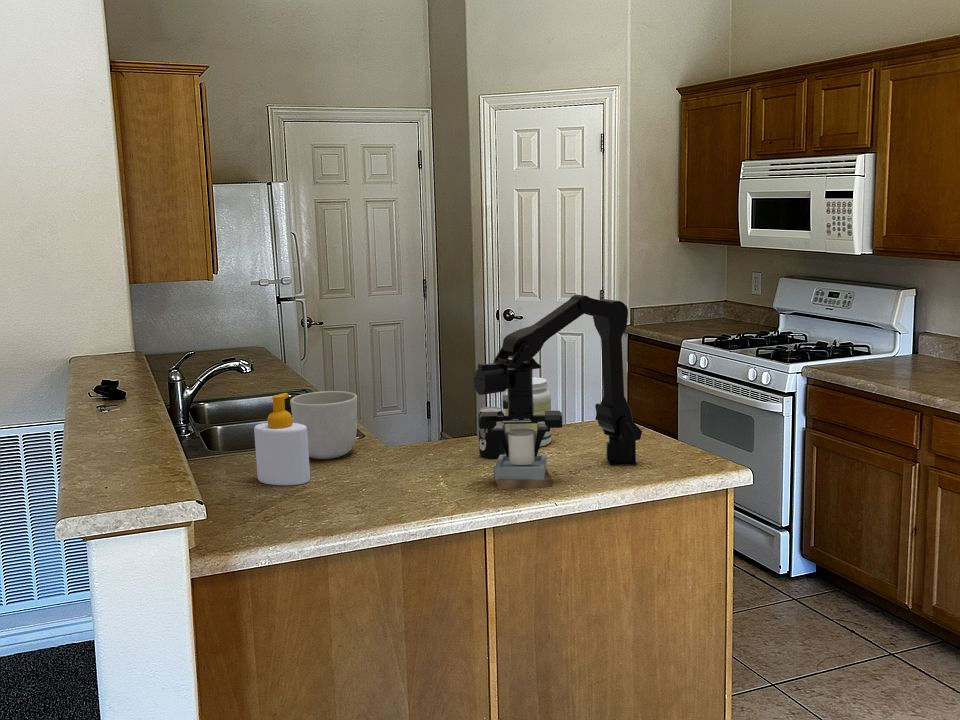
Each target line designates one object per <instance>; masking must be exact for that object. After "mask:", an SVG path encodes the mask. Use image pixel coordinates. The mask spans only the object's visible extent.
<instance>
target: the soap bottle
mask: <svg viewBox="0 0 960 720" xmlns="http://www.w3.org/2000/svg"><path fill="white" fill-rule="evenodd" d="M288 397H289V393H288V392H284V393H280V394H276V395H273V396H272V410H273V411H272V412H270V413H269V414H268V416H267V422H264V423H263V422H262V423H259V424H256V425H255V426H254V428H253V430H254V431H253V433H254V434H253V436H254V446H255V447H254V448H255V461H256V462H255V463H256V473H257V474H256V475H257V480H258V481H259V482H260V483H263V484H266V485H270V486H271V485H273V486H298V485H305V484H306V483H309V482H310V480H311V471H310V469H311V468H310V467H311V466H310V457H309V451H308V436H307V427H306V426H305V425H303V424H298V423H293V418H292V413H291V412H289V411H287V410H286V407H285V399H288Z"/></svg>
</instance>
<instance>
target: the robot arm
mask: <svg viewBox="0 0 960 720" xmlns="http://www.w3.org/2000/svg"><path fill="white" fill-rule="evenodd" d="M583 315H588V316H591V317H592V319H593V323H594V327H595V329H596V331H597V333H598V335H599V337H600V345H601V366H602V367H601V368H602V369H601V370H602V385H603V387H602V388H603V397H602V398H601V402H600V403H595V406H594V407H595V411H596V412H595V413H596V414H595V420H596V421H597V422H598V425H599V427H600V428H602V431H603V434H604V435H605V436H608V441H606V444H605V445H606V447H605V448H606V450H605V451H606V455H605V456H606V461H607V462H608V464H609V466H636V465H638V462H637V458H636V457H637V456H636V455H637V454H636V453H637V448H636V447H637V445H636V444H637V443H636V442H637V441H639V440H641V437H642V434H643V430H642V429H641V428H640V427H639V426H638V425H637V424H636V423H635V422H634V419H633V414H632V409H631V407H630V405H629V403H628V400H627V399H626V397H625V384H624V382H625V380H624V361H623V359H624V358H623V339H622V338H623V335H624V333H625V331H626V329H627V327H628V320H629V309H628V306H627V304H625V303H624V302H622V301H621V300H614V299H605V298H602V299H596V298H592V297H589V296H588V295H585V294H584V295H583V294H574V295H572V296H571V297H569V300H567V301H565V302H564V303H562V304H561V305H560V306H558V307H556V309H554V310H552V311H551V312H549V313H548V314H547V315H546V316H544V317H543V318H541V319H540V320H538V321H537V322H535V323H534V324H532V325H529V326H526V327H523V328H519V329H517V330H516V331H513V332H510V333H509V334H506V336H505V337H504V338H503V340H502V347H500V350H499V351H498V352H497V355H496V356H495V358H494V360H492V361H493V362H492V363H478V364H477V370H476V371H475V373H474V377H473V386H474V389H475V392H476V393H477V394H478V396H479V395H480V396H483V395H489V394H498V393H504V392H507V391H508V395H505V394H502V409H503V410H505V409H508V416H505V415H504V416H498V415H497V412H482V413H481V414H480V417H479V424H478V430H479V429H492V430H491V432H495V433H496V434H497V436H498V437H499V439H500V441H501V443H502V446H503V448H504V451H505V455H506V456H507V457H509V451H508V444H507V436H506V424H532V423H538V424H537V434H536V443H535V457H537V455H539V454H538V453H539V450H540V447H541V446H540V444H541V441H542V439H543V437H544V435H545V433H546V432H549V431H550V428H551V429H561V428H563V413H562V412H561V410H551V411H545V415H533V414H534V403H533V381H532V377H533V370H539V369H541V368H542V365H541V364H539V363H538V362H537V361H536V360H535V358H534V357H535V356H536V355H537V354H538V353H539V352H540V351H541V350H542V348H543V347H544V344H545V343H546V342H547V341H548V340H549V339H550V338H551V337H553V336H554V335H556V334H558V333H559V332H560V331H561V330H563V329H564V328H566V327H568V325H570V324H571V323H573V322H574V321H576V320H577V319H579V318H580V317H581V316H583ZM506 390H507V391H506ZM513 419H514V420H513ZM515 419H518V420H515ZM524 419H530V420H524Z"/></svg>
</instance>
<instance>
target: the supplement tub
mask: <svg viewBox="0 0 960 720" xmlns="http://www.w3.org/2000/svg"><path fill="white" fill-rule="evenodd" d="M532 381H533V403H534V414H533V415H545V411H552V396H551V395H552V394H551V392H550V390H549V389H547V388H548V380H547V379H545V378H543V377H535V376H534V377H533V376H532ZM504 395H508V391H505V394H504ZM504 416H508V409H504ZM513 420H514V419H513ZM515 420H518V419H515ZM524 420H530V419H524ZM537 424H538V423H532V424H505V427H506V432H507V431H509V430H513V429H532V430H535V431H536V434H537ZM552 439H553V438H552V428H550V431H549V432H546V433H545V435H544V437H543V439H542V441H541V444H540V447H543V446H544V447H545V446H547V445H548V444H550V443H551V441H552ZM535 443H536V441H535Z"/></svg>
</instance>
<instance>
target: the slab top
mask: <svg viewBox="0 0 960 720" xmlns="http://www.w3.org/2000/svg"><path fill="white" fill-rule="evenodd" d="M547 457H548V455H547V454H537V457H535V455H534V462H533V463H531V464H527V465H515V464H512V463H510V461H509V457H507V456H506V454H504V455H499V458H497V461H496V464H495V466H494V467H495V477H494V479H503V480H544V477H545V472H546V469H547V462H548V461H547Z"/></svg>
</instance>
